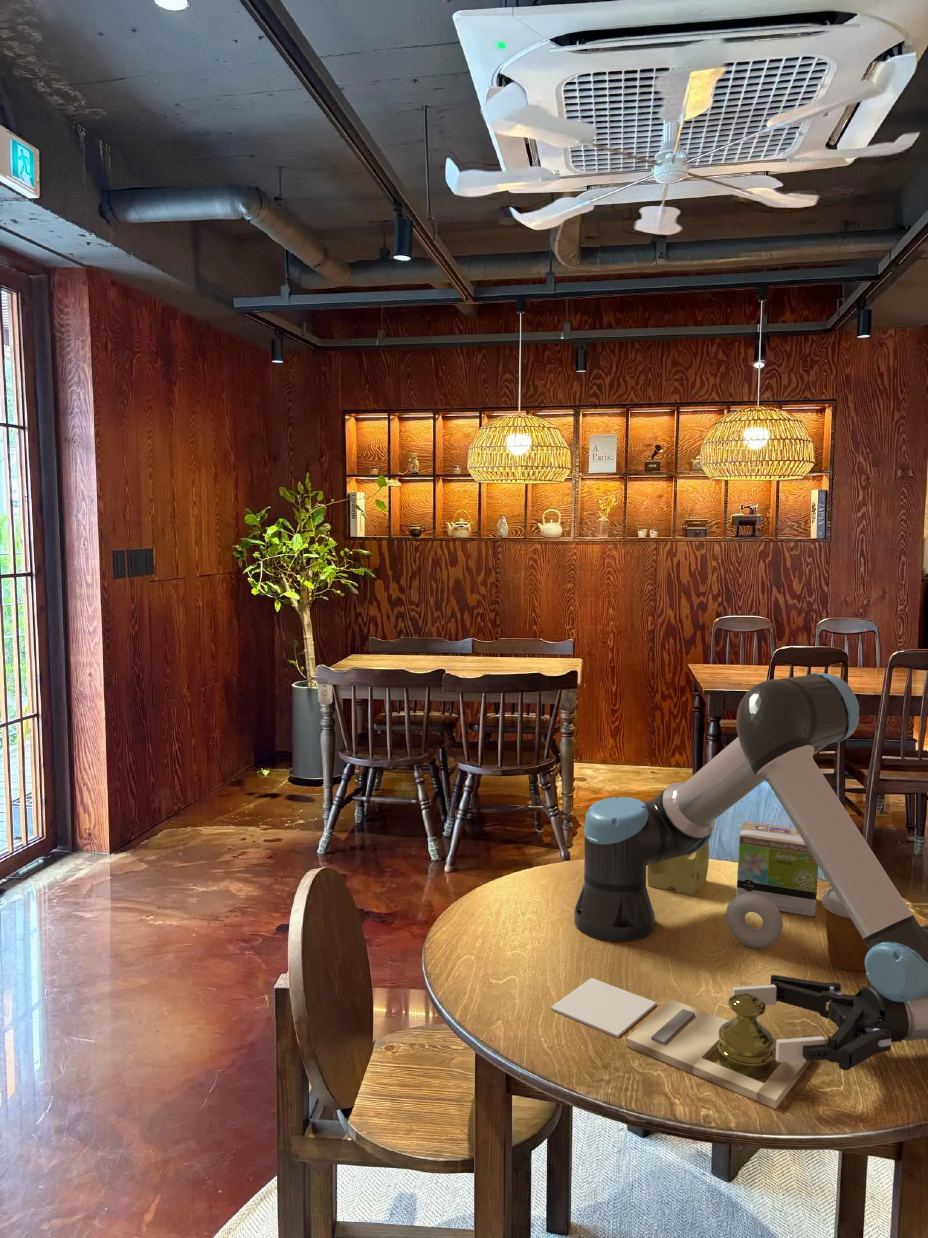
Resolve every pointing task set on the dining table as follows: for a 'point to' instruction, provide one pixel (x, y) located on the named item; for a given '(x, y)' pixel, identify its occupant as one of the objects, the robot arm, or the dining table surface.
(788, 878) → the tea box
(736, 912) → the donut
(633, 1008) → the mat
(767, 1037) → the brass bell weight
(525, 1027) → the dining table surface
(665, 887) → the cheese
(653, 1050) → the light wooden flat frame
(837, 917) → the disposable coffee cup
